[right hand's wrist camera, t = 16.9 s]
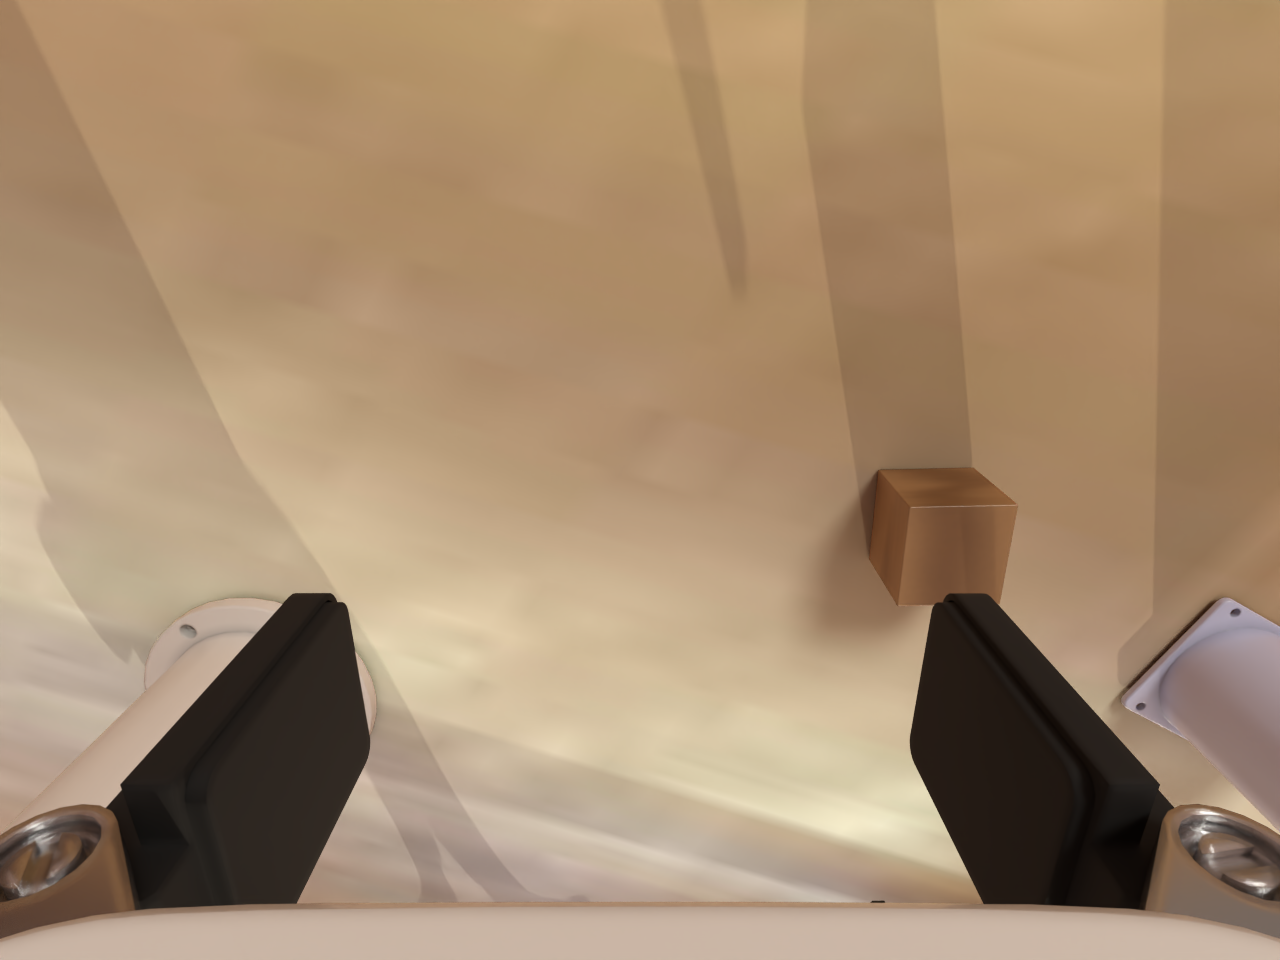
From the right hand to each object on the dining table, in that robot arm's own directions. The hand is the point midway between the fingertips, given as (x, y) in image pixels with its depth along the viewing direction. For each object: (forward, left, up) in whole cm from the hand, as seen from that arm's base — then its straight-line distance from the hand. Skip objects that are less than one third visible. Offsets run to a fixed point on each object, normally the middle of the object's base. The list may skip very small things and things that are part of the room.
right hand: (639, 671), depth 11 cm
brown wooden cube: (0, -16, -24) cm, 29 cm away
